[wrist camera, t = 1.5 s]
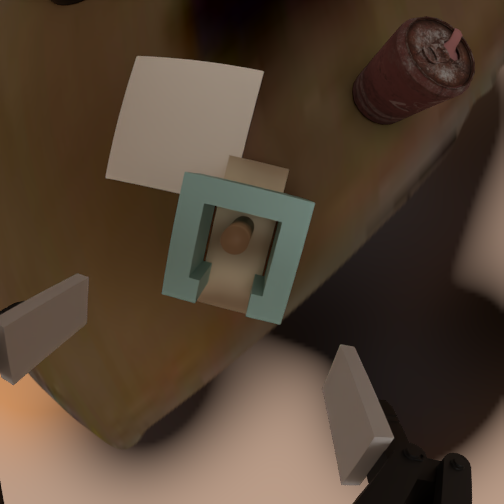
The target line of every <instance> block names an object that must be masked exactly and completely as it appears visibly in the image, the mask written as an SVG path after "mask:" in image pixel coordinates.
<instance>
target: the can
mask: <svg viewBox="0 0 504 504" xmlns="http://www.w3.org/2000/svg"><path fill="white" fill-rule="evenodd" d="M474 73H475V62H474V58H473V55H472V51H471V49H470V47H469V46H468V44H467V42H466V40H465V39H464V38H463V37H462V33H461V31H460V30H458V29H457V28H453V27H452V26H451V25H449V24H448V23H446V22H444V21H442V20H440V19H438V18H433V17H427V16H426V17H419V18H413V19H409V20H408V21H406V22H405V23H403V24H402V25H401V26H400V27H399V28H398V29H397V31H396V32H395V33H394V34H393V35H392V36H391V38H390V39H389V40H388V41H387V42H386V43H385V45H384V46H383V47H382V48H381V49H380V51H379V52H378V53H377V54H376V55H375V56H374V58H373V59H372V60H371V61H370V62H369V64H368V65H367V66H366V67H365V68H364V69H363V71H362V72H361V73H360V74H359V75H358V77H357V79H356V80H355V82H354V85H353V97H354V101H355V103H356V105H357V107H358V109H359V110H360V111H361V112H362V114H363V115H364V116H365V117H367V118H368V119H370V120H371V121H373V122H376V123H379V124H392V123H395V122H398V121H400V120H402V119H404V118H407V117H409V116H411V115H413V114H416V113H418V112H420V111H422V110H425V109H427V108H429V107H432V106H434V105H436V104H439V103H441V102H443V101H446V100H448V99H451V98H453V97H455V96H458V95H460V94H462V93H463V92H464V91H465V90H466V89H467V88H468V87H469V85H470V82H471V81H472V78H473V76H474Z"/></svg>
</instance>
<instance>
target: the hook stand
mask: <svg viewBox="0 0 504 504" xmlns="http://www.w3.org/2000/svg"><path fill="white" fill-rule="evenodd" d="M288 172H289V169H286V168H282V167H278V166H274V165H270V164H266V163H261V162H257V161H253V160H249V159H244V158H240V157H235V156H231V155H229V159H228V163H227V167H226V172H225V176H224V179H228V180H232V181H236V182H241V183H245V184H249V185H253V186H257V187H261V188H265V189H270V190H274V191H277V192H281V193H283V192H284V188H285V184H286V180H287V176H288ZM275 224H276V221H275V220H271V219H267V218H263V217H259V216H255V215H251V214H247V213H243V212H239V211H235V210H231V209H227V208H222V207H218V206H217V210H216V215H215V219H214V224H213V228H212V233H211V237H210V242H209V246H208V251H207V256H206V262H210V263H212V266H211V270H210V275H209V280H208V283H207V285H206V286H205V288H204V290H203V291H202V293H201V294H200V296H199V298H198V300H197V301H198V302H202V303H206V304H209V305H213V306H217V307H221V308H225V309H229V310H233V311H237V312H241V313H245V314H246V312H247V307H248V302H249V297H250V292H251V288H252V284H253V280H254V277H255V274H257V275H261V276H262V274H263V270H264V266H265V262H266V258H267V255H268V251H269V247H270V243H271V239H272V235H273V231H274V228H275Z"/></svg>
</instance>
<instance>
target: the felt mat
mask: <svg viewBox="0 0 504 504" xmlns="http://www.w3.org/2000/svg"><path fill="white" fill-rule="evenodd" d="M263 74H264V71H259V70H254V69H249V68H243V67H238V66H232V65H225V64H219V63H212V62H204V61H196V60H187V59H177V58H164V57H149V56H137V57H136V60H135V63H134V66H133V69H132V73H131V76H130V79H129V82H128V86H127V89H126V92H125V96H124V99H123V103H122V107H121V110H120V114H119V118H118V122H117V126H116V130H115V134H114V138H113V143H112V147H111V152H110V157H109V161H108V166H107V172H106V177H105V178H108V179H113V180H118V181H123V182H127V183H132V184H137V185H142V186H147V187H151V188H156V189H161V190H165V191H170V192H174V193H179V194H180V191H181V186H182V182H183V177H184V173H185V172H191V173H200V174H205V175H210V176H214V177H219V178H223V179H224V176H225V172H226V167H227V163H228V159H229V155H231V156H235V157H240V158H242V155H243V151H244V147H245V143H246V139H247V135H248V131H249V127H250V123H251V119H252V116H253V112H254V108H255V104H256V100H257V96H258V93H259V89H260V85H261V81H262V78H263Z"/></svg>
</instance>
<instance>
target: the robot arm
mask: <svg viewBox="0 0 504 504" xmlns="http://www.w3.org/2000/svg"><path fill="white" fill-rule="evenodd" d="M51 1H52V2H54V3H56V4H59V5H68V4H73V3H77V2H80V1H82V0H51ZM88 285H89V277H87V276H84V275H81V274H78V273H77V274H75V275H73V276H71V277H69V278H68V279H66V280H64V281H62V282H60V283H58V284H56V285H54V286H52V287H50V288H48V289H47V290H45V291H43V292H41V293H39V294H37V295H35V296H33V297H32V298H30V299H28V300H26V301H21V302H17V303H14V304H12V305H10V306H8V307H7V308H5V309H3V310H2V311H0V374H1V377H2V378H3V379H5V380H6V381H8V382H10V383H11V384H12V385H14V384H16V383H17V382H18V381H19V380H20V379H21V378H22V377H24V376H25V375H26V374H27V373H28V372H29V371H31V370H32V369H33V368H34V367H35V366H36V365H38V364H39V363H40V362H41V361H42V360H43V359H45V358H46V357H47V356H48V355H49V354H50V353H52V352H53V351H54V350H55V349H56V348H58V347H59V346H60V345H61V344H62V343H64V342H65V341H66V340H67V339H68V338H70V337H71V336H72V335H73V334H75V333H76V332H77V331H78V330H79V329H81V328H82V327H83V326H84V325H86V324H87V303H88ZM322 390H323V395H324V399H325V404H326V409H327V413H328V419H329V423H330V428H331V434H332V439H333V444H334V449H335V454H336V459H337V464H338V470H339V475H340V481H341V485H360V484H361V483H362V481H363V480H364V479H365V478H366V476H367V479H368V483H369V484H368V485H367V487H366V488H365V489H364V490H363V491H362V493H361V494H360V495H359V496H358V497H357V499H356V500H355V502H354V503H353V504H472V481H471V480H472V479H471V466H470V463H469V461H468V460H467V459H466V458H465V457H464V456H462V455H460V454H458V453H449V454H447V455H446V456H445V457H444V458H443V460H442V461H438V460H433V459H429V458H427V457H426V454H425V452H424V451H423V450H422V449H421V448H420V447H419V446H417V445H415V444H412V443H409V441H408V439H407V437H406V435H405V432H404V430H403V428H402V426H401V424H400V423H399V419H398V417H396V416H397V415H396V413H395V411H394V409H393V407H392V406H391V405H390V404H389V403H388V402H387V401H386V400H379V399H378V398H377V396H376V394H375V392H374V389H373V387H372V385H371V383H370V380H369V378H368V376H367V374H366V371H365V369H364V367H363V365H362V363H361V361H360V358H359V356H358V354H357V352H356V350H355V347H352V346H347V345H341V344H340V346H339V349H338V352H337V354H336V356H335V359H334V361H333V364H332V366H331V369H330V371H329V373H328V376H327V378H326V380H325V383H324V385H323V387H322ZM0 504H4V501H3V495H2V489H1V483H0Z"/></svg>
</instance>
